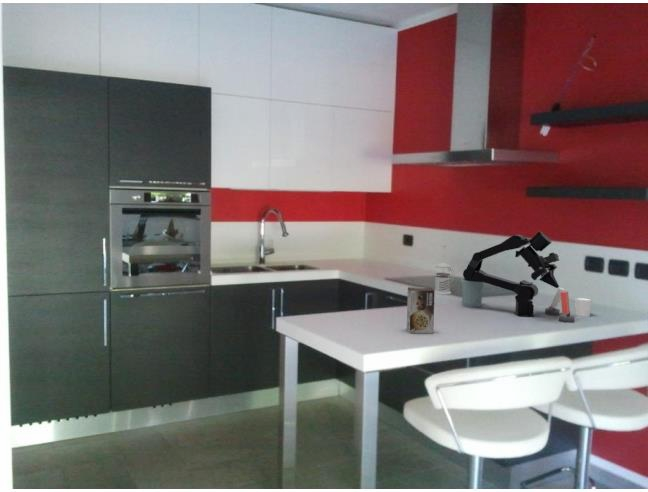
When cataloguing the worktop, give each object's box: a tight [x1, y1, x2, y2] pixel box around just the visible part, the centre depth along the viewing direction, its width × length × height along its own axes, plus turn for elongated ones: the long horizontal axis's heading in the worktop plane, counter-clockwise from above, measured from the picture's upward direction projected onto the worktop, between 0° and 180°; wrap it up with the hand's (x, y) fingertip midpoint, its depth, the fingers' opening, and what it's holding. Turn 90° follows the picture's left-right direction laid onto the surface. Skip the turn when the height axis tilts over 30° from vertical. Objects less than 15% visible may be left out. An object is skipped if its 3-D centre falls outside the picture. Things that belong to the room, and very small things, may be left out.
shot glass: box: [574, 297, 593, 317], centre depth 261 cm, size 7×7×7 cm
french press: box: [433, 244, 455, 295], centre depth 312 cm, size 10×12×25 cm
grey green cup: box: [460, 278, 485, 308], centre depth 278 cm, size 10×10×12 cm
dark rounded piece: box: [557, 312, 575, 323], centre depth 248 cm, size 6×6×4 cm
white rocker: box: [550, 287, 566, 309], centre depth 261 cm, size 2×5×10 cm, turn 144°
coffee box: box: [406, 286, 435, 334], centre depth 222 cm, size 9×6×16 cm
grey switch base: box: [544, 305, 561, 316], centre depth 262 cm, size 6×6×4 cm
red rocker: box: [560, 291, 571, 315], centre depth 248 cm, size 2×5×10 cm, turn 144°
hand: (558, 287), depth 249 cm, fingers closed
